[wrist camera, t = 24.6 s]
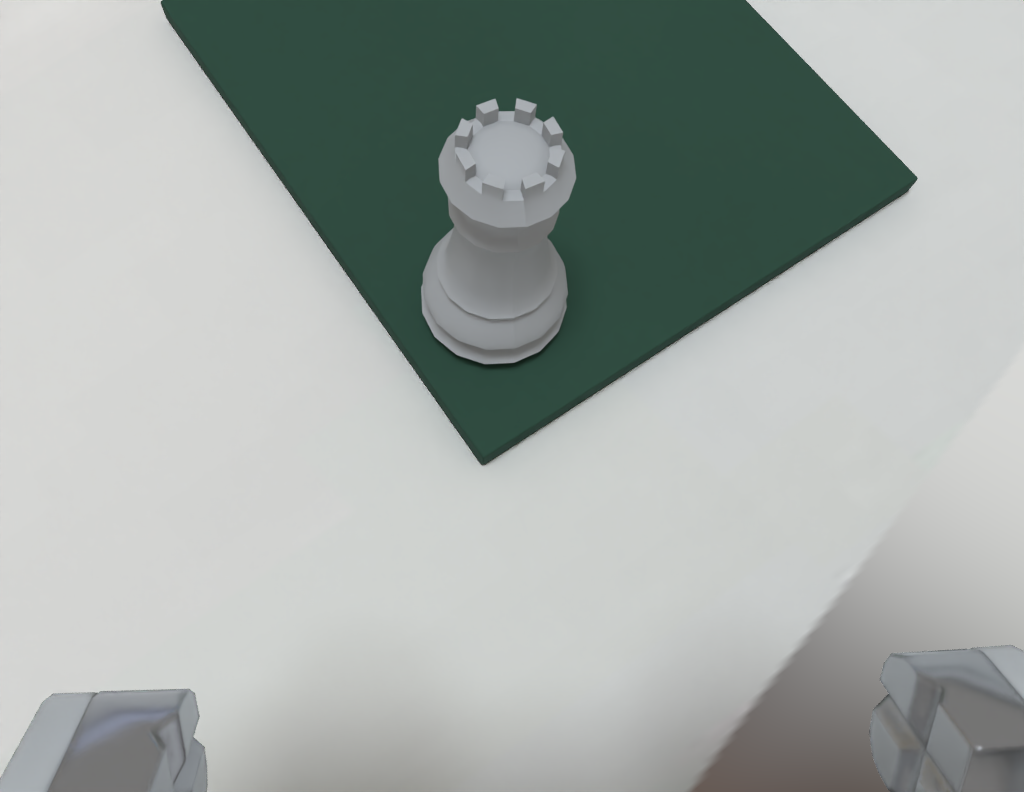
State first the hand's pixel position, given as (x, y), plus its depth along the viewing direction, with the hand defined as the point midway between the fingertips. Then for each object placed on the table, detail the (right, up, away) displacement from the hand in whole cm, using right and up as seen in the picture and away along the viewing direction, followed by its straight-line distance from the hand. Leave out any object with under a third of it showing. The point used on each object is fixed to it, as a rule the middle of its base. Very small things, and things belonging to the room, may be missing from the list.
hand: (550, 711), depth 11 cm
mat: (0, +14, +21) cm, 25 cm away
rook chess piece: (-1, +6, +17) cm, 18 cm away
